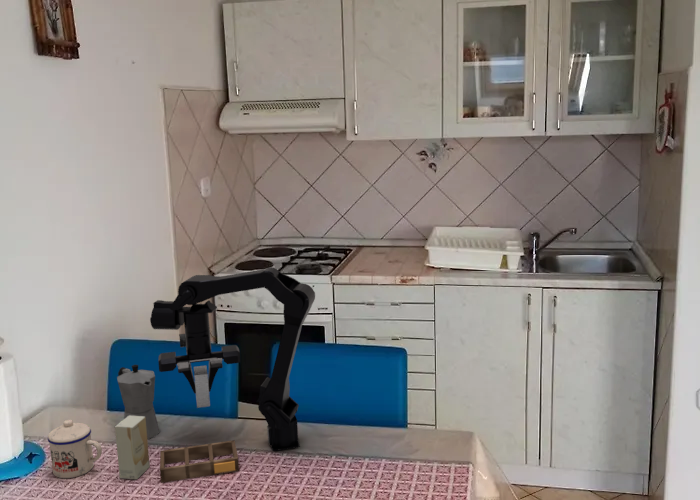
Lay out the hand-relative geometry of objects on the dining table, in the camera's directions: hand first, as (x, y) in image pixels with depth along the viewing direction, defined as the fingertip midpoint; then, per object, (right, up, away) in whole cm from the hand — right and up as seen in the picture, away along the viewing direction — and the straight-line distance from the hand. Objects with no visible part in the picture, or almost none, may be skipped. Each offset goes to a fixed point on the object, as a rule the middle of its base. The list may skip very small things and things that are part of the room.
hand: (202, 392), depth 167 cm
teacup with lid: (-26, -16, -10) cm, 32 cm away
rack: (+2, -15, -10) cm, 18 cm away
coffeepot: (-18, -12, +8) cm, 23 cm away
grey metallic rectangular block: (0, -2, +1) cm, 2 cm away
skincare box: (-12, -16, -12) cm, 23 cm away
